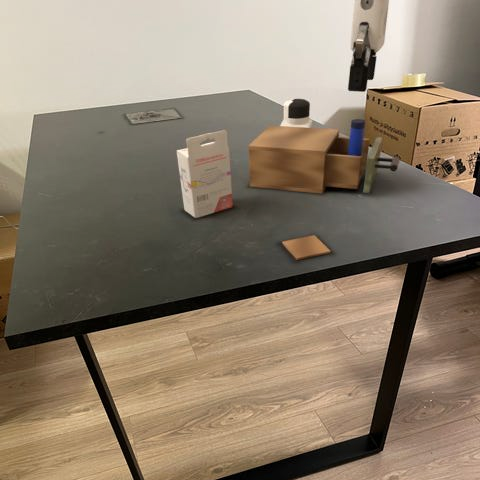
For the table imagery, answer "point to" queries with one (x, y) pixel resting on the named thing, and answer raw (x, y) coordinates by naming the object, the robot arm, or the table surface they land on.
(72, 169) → the table surface
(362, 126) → the marker
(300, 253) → the coaster
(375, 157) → the drawer
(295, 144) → the cabinet
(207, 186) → the ink cartridge box
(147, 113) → the mousepad
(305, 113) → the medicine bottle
